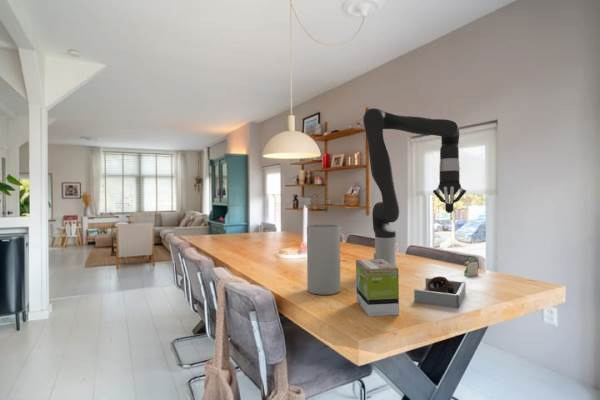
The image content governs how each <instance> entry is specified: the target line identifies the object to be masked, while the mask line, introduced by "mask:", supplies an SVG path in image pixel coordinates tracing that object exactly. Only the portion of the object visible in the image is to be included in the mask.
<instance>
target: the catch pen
mask: <svg viewBox="0 0 600 400" xmlns="http://www.w3.org/2000/svg"><path fill="white" fill-rule="evenodd" d="M432 278H433V277H432ZM432 278H431V277H425V289H426V290H424V289H423V290H422V289H416V288H415V289H414V291H413V297H414V298H413V301H414V302H415V303H421V304H428V305H436V306H442V307H451V308H457V309H459V308H460V307H461V305H462V302H463V299H464V298H465V295H466V281H460V280H450V279H447V280H448V281H450V282H451V283H452V284H453V288H454V290H455V292H456V294H449V293H441V292H433V291H427V290H428V289H427V288H428V286H427V283H428V282H429V280H431V279H432ZM441 283H443V282H441ZM430 287H431V288H434V286H433V284H431V285H430Z"/></svg>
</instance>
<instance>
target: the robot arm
mask: <svg viewBox="0 0 600 400" xmlns="http://www.w3.org/2000/svg"><path fill="white" fill-rule="evenodd" d="M362 121H363V126H364V130H365V134H366V138H367V139H366V140H367V145H368V155H369V156H368V157H369V163H370V164H369V165H370V172H371V177H372V179H373V181H374V183H375V184H376V186H377V187H378V189H379V191H380V195H381V200H382V201H379V202H376V203H375V204H374V205H373V207H372V214H371V215H372V229H373V232H374V246H375V247H374V250H375V251H374V253H373V259H384V260H385V261H387V262H389V263H390V264H392V265H394V266H395V267H397V266H396V265H397V260H396V259H397V258H396V257H397V256H396V255H397V253H396V252H397V248H396V247H397V246H396V245H397V243H396V238H397V236H396V234H397V233H396V230H395V229H393V228H392V227H391V225H390V223H395V222H396V221H397V220H398V219H399V216H400V208H399V202H398V199H397V198H398V197H397V192H396V190H395V185H394V177H393V166H392V160H391V159H392V158H391V155H390V152H389V149H388V147H387V145H386V142H385V139H384V130H396V131H402V132H405V133H410V134H416V135H421V136H436V137H441V146H440V150H439V153H440V154H439V184H438V187H437V188H435V189H433V190H432V193H433V194H434V195H435V196H436V198H437V199H438V200H439V201H440V202H441V203H444V204H445V212H446V213H447V214H452V212H453V211H454V204H455V203H458V202H459V201H460V199H462V198H463V196H464V195H465V194H466V193H467V190H466V189H465V188H463V187H462V185H461V182H460V169H461V167H460V160H459V159H460V157H459V155H460V154H459V153H460V150H459V143H460V142H459V141H460V128H459V125H458V123H457V122H456V121H454V120H452V119H444V118H429V117H422V116H421V117H420V116H407V115H398V114H393V113H389V112H387V111H384V110H382V109H379V108H369V109H368V110H366V111H365V113H364V115H363V119H362ZM440 192H441V193H442V195H444V197H443V196H442V195H441V193H440ZM457 193H459V194H458V195H457V196H456V197H455V195H456V194H457Z"/></svg>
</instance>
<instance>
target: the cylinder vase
mask: <svg viewBox="0 0 600 400" xmlns="http://www.w3.org/2000/svg"><path fill="white" fill-rule="evenodd" d="M306 253H307V254H306V257H307V258H306V261H307V262H306V263H307V268H306V269H307V271H306V272H307V273H306V274H307V275H306V276H307V277H306V278H307V291H308V292H309V293H310V294H312V293H313V294H312V295H316V294H318V296H330V295H331V296H332V295H335V294H338V293H339V292H340V291H341V225H340V224H327V223H326V224H320V223H319V224H309V225H306Z"/></svg>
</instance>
